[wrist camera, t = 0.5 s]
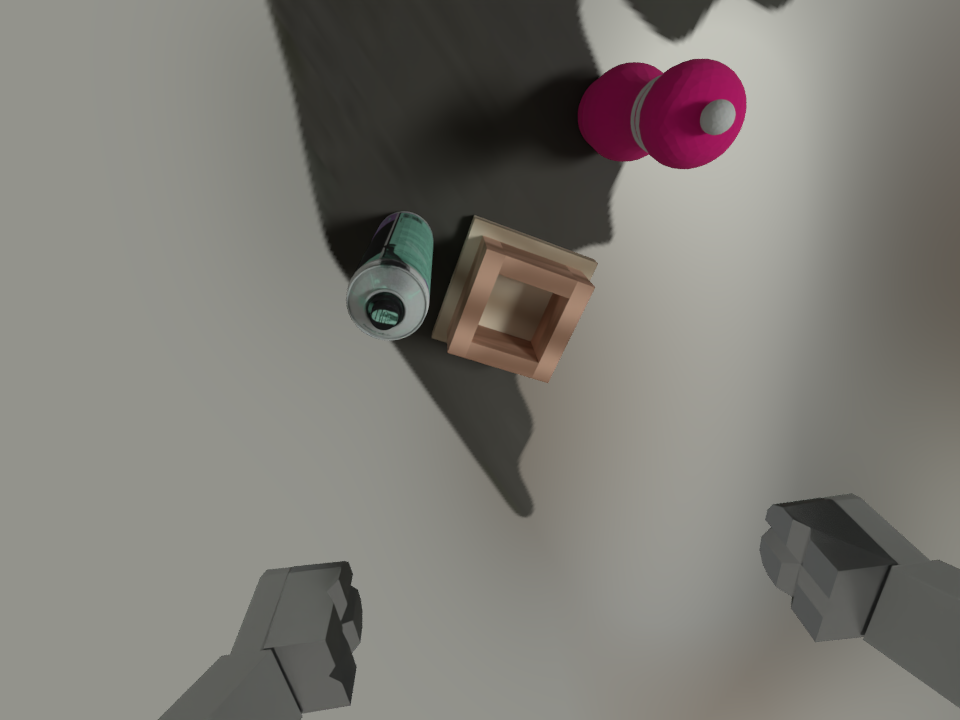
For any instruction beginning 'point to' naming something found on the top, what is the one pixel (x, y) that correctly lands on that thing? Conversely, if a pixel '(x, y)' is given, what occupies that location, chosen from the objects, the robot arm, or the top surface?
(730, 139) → the pepper mill
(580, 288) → the can holder
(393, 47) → the top surface
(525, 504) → the top surface
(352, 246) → the top surface
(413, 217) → the spray can
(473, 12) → the top surface
